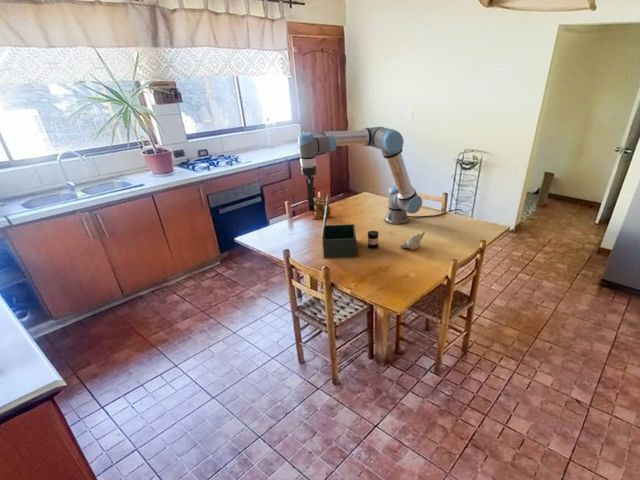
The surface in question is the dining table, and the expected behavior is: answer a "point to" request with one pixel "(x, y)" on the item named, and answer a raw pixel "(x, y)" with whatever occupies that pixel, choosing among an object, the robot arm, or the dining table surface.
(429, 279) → the dining table surface
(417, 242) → the seashell
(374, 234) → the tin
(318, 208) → the stuffed squirrel
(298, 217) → the dining table surface
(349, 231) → the open box
